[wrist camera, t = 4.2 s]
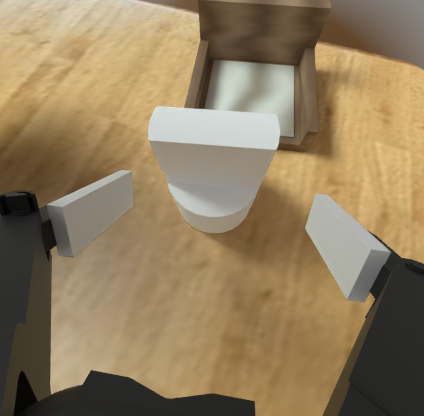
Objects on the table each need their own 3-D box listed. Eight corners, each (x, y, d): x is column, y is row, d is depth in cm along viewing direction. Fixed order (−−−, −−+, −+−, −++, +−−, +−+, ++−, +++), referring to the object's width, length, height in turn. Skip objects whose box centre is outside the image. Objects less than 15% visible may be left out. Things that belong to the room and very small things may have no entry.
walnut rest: (185, 139, 29) (174, 85, 21) (203, 59, 34) (200, -8, 27) (305, 151, 28) (340, 99, 20) (303, 67, 33) (330, 1, 26)
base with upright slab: (171, 229, 24) (134, 179, 13) (183, 162, 27) (161, 76, 16) (250, 237, 24) (281, 192, 13) (252, 168, 27) (279, 83, 16)
